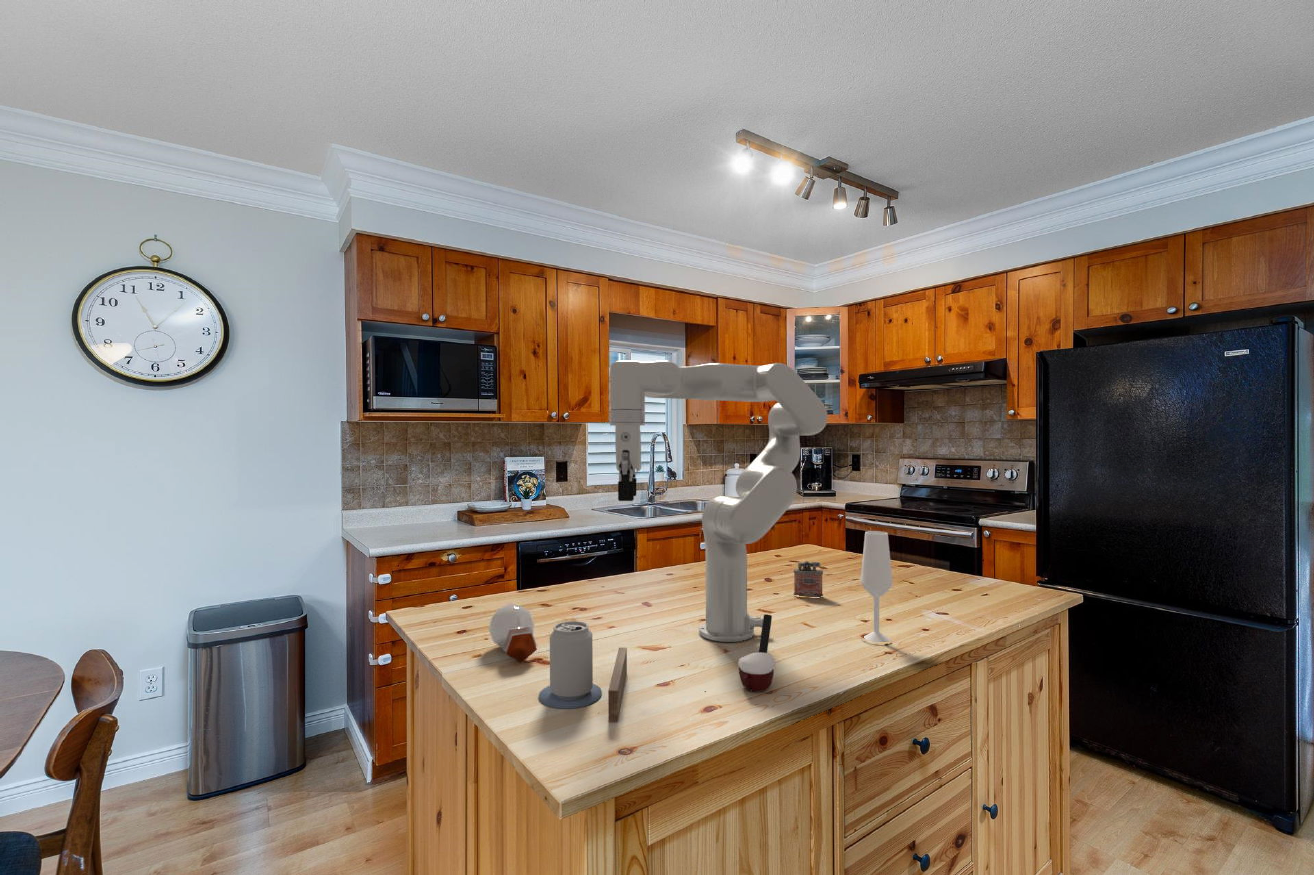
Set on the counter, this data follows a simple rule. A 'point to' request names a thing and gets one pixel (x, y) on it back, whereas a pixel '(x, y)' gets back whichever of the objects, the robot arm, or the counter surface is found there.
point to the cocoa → (758, 663)
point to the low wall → (617, 685)
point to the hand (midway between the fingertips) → (627, 498)
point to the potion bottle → (513, 631)
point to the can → (571, 660)
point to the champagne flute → (876, 574)
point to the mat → (555, 702)
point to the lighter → (808, 579)
